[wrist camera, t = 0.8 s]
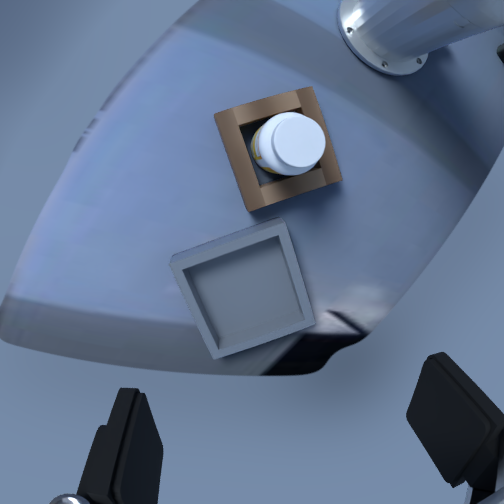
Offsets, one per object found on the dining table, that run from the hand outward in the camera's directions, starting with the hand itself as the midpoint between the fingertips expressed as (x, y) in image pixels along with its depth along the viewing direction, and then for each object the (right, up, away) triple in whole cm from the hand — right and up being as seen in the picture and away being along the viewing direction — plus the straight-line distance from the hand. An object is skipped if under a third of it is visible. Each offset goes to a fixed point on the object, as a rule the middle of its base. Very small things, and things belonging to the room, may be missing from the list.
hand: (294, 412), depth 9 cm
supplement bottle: (+1, +16, +22) cm, 27 cm away
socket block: (+1, +16, +22) cm, 27 cm away
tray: (-2, +1, +26) cm, 26 cm away
